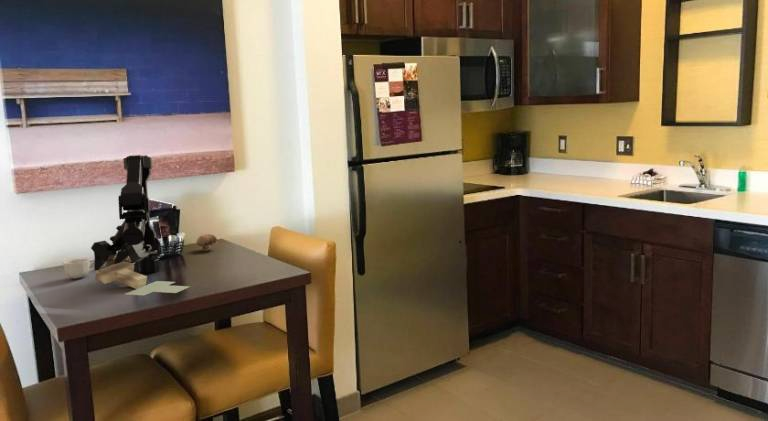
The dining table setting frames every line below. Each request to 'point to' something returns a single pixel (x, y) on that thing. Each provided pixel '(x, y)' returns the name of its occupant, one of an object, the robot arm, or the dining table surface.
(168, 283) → the pad
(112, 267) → the t block
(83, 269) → the teacup
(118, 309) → the dining table surface
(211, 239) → the mushroom
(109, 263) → the cake
